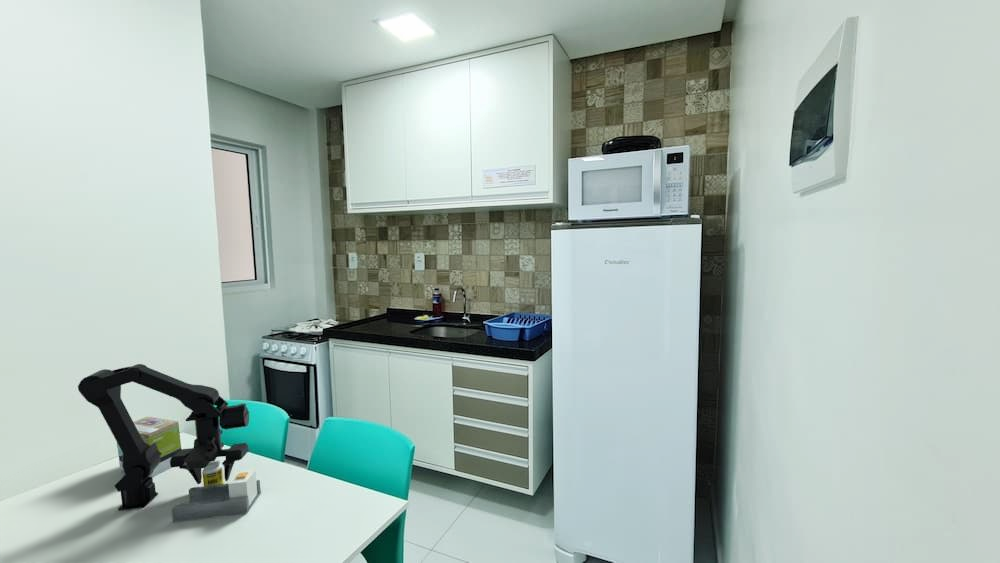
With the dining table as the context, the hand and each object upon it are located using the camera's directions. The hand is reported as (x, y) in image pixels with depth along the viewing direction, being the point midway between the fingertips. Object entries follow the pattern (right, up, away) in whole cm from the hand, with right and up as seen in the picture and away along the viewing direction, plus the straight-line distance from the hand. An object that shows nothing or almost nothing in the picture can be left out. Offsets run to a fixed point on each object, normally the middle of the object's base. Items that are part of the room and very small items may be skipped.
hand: (213, 481), depth 122 cm
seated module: (+14, -2, -7) cm, 16 cm away
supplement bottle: (0, -2, 0) cm, 2 cm away
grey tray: (+8, -3, -9) cm, 12 cm away
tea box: (-30, -2, +13) cm, 33 cm away
